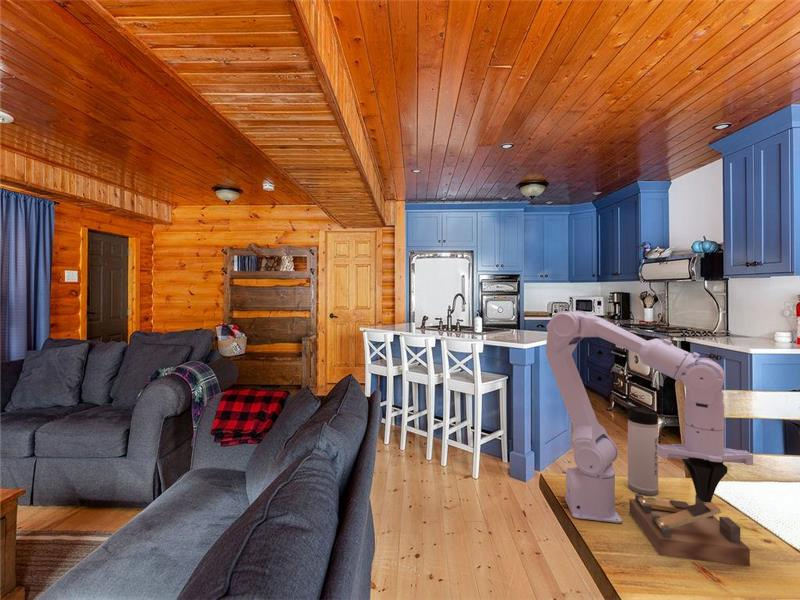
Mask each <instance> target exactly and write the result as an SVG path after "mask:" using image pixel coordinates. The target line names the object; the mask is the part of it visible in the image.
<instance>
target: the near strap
mask: <svg viewBox="0 0 800 600" xmlns="http://www.w3.org/2000/svg"><path fill="white" fill-rule="evenodd" d="M690 505H691V506H688V507H686V509H687V510H684V511H680V512H677V513H674V514H671V515H668V516H664V517H661V518H656V519H655V522H656V523H657V525H658V526H659V527H660V528H661V526H665V527H669V528H670V529H671V528H674V527H677V526H681V525H684V524H687V523H690V522H694V521H697V520H700V519H704V518H707V517H710V516H716V515H720V514H722V511H721V509H720V508H719V507H718V506H717V505H716V504H715V503H714V502H712V501H711V503H710V502H709V503H706V504H703V503H702V502H701V503H697V504H690Z"/></svg>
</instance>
